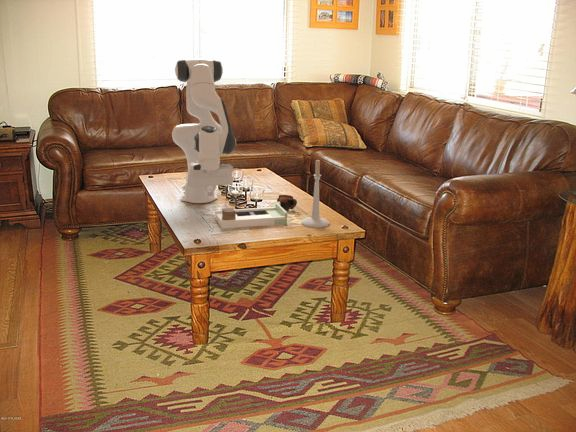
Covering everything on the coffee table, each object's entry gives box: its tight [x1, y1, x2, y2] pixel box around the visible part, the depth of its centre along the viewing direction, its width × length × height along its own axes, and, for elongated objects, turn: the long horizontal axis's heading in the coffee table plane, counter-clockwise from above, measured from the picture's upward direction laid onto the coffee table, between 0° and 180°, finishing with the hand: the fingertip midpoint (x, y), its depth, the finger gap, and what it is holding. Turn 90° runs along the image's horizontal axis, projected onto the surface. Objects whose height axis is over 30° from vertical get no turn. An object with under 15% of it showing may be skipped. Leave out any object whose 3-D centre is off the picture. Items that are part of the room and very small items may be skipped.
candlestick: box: [300, 159, 330, 229], centre depth 280 cm, size 13×13×30 cm
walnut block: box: [221, 207, 236, 220], centre depth 278 cm, size 5×5×4 cm
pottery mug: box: [276, 194, 298, 212], centre depth 304 cm, size 12×10×8 cm
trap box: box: [214, 202, 288, 230], centre depth 284 cm, size 16×30×6 cm, turn 107°
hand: (209, 195), depth 272 cm, fingers closed
